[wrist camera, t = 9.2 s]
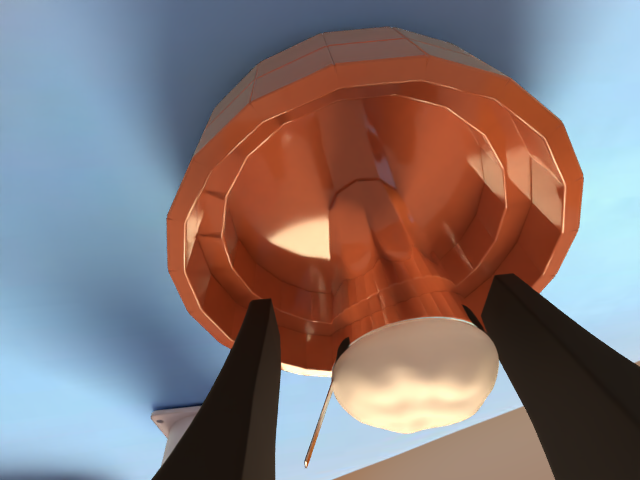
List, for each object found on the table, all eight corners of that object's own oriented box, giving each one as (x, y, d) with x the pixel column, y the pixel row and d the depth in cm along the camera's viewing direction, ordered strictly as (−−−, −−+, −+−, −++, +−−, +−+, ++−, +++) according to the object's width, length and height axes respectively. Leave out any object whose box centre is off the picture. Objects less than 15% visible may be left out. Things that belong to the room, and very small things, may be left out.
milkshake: (293, 166, 14) (301, 420, 7) (424, 162, 15) (574, 400, 7) (297, 251, 17) (306, 497, 10) (406, 246, 18) (500, 480, 10)
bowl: (476, 292, 21) (514, 361, 18) (235, 317, 21) (224, 391, 17) (565, 6, 12) (679, 31, 8) (140, 46, 12) (79, 88, 8)
